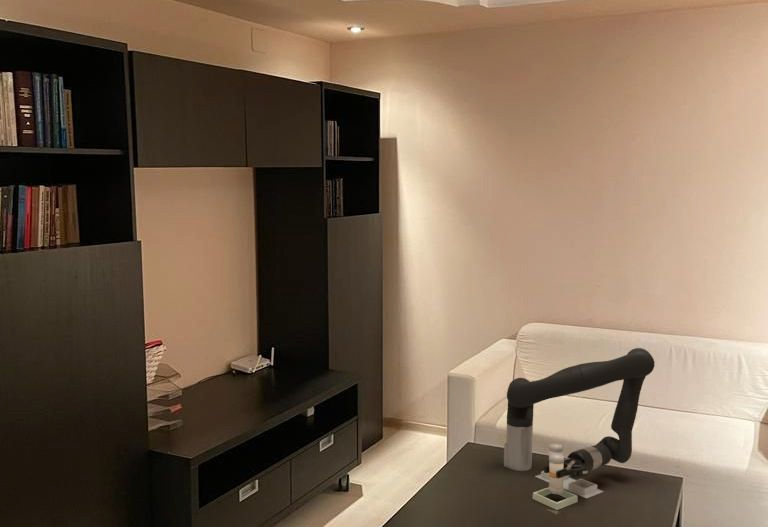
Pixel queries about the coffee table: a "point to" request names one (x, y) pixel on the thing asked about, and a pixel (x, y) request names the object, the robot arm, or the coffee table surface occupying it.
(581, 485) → the fuse board
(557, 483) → the cylinder
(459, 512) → the coffee table surface
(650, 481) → the coffee table surface
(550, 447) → the cylinder
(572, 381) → the robot arm
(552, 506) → the tray
